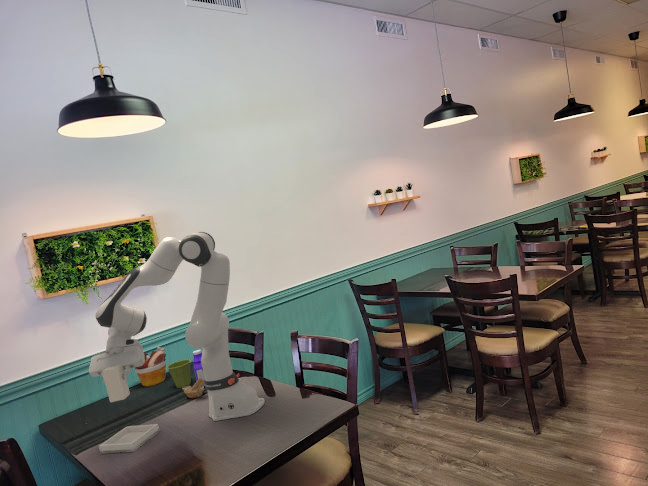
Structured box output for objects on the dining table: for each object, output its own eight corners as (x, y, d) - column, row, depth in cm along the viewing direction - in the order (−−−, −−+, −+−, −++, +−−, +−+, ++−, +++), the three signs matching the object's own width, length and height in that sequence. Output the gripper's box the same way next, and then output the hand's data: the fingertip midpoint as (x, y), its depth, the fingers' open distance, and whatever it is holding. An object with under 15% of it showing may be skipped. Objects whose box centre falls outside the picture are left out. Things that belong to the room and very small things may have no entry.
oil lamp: (195, 403, 211) (190, 381, 210) (177, 396, 227) (172, 375, 227) (213, 395, 216) (208, 374, 216) (194, 389, 233) (189, 368, 232)
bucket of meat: (163, 374, 272) (154, 340, 270) (178, 377, 260) (169, 341, 259) (128, 389, 257) (120, 352, 256) (143, 392, 246) (134, 354, 245)
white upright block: (130, 393, 184) (122, 363, 184) (125, 399, 179) (117, 367, 178) (115, 397, 184) (107, 366, 184) (110, 402, 179) (102, 371, 178)
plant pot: (171, 385, 246) (166, 364, 246) (195, 378, 250) (190, 357, 249) (171, 392, 235) (166, 369, 234) (196, 385, 238) (190, 362, 238)
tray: (159, 431, 187) (158, 423, 187) (133, 451, 173) (131, 443, 173) (128, 433, 192) (126, 426, 192) (100, 453, 177) (98, 445, 177)
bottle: (207, 388, 230) (199, 352, 229) (196, 389, 231) (188, 354, 230) (213, 382, 237) (205, 347, 236) (203, 383, 238) (195, 349, 237)
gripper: (88, 350, 187) (83, 383, 178) (140, 338, 188) (138, 370, 179) (95, 358, 192) (91, 391, 182) (147, 346, 193) (145, 378, 183)
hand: (115, 380), depth 181 cm, fingers closed on white upright block, 5 cm apart
